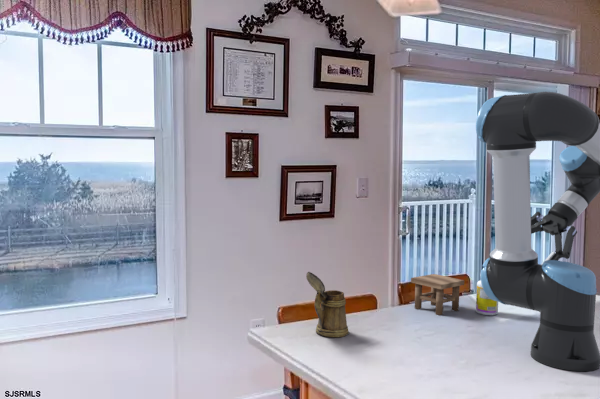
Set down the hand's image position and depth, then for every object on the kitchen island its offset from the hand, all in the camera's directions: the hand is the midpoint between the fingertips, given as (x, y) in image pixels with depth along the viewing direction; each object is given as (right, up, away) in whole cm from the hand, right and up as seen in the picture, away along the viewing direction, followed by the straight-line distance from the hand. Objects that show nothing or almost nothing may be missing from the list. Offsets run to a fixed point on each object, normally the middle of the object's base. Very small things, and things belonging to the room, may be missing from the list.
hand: (522, 261), depth 159 cm
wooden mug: (-60, -18, -15) cm, 65 cm away
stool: (-22, -17, +13) cm, 31 cm away
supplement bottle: (-7, -18, +10) cm, 22 cm away
